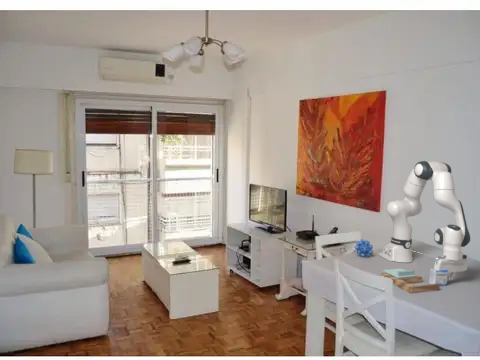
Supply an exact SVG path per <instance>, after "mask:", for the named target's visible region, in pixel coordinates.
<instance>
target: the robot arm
mask: <svg viewBox="0 0 480 360" xmlns="http://www.w3.org/2000/svg"><path fill="white" fill-rule="evenodd" d="M428 181H431V183H432V189H433V191H432V193H433V199H434V202H435V203H437V205H439V206H441V207H443V208H446V209H448V210H450V211H451V212H452V213H453V216H454V218H455V224H447V225H446V226H444V227H439V228H437V229H436V230H435V232H434V233H433V234H434V235H433V239H434V242H435V243H436V244H437V245H439V246H443V248H442V255H441V256H438V257H437V258H435V261H434V266H433V269H436V270H439V271H440V270H448V276H447V281H453V280H454V276H455V275H456V273H461V272H466V271H467V270H468V264H469V263H468V258H469V255H468V254H466V253H463V252H462V249H461V248H465V247H466V246H468V244H469V243H470V242H471V234H470V232H469V229H468V225H467V220H466V216H465V212H464V207H463V204H462V201H460V200H459V199H458V198H457V195H456V192H455V183H454V177H453V175H452V168H451V166H450V165H449V164H448V163H445V162H439V161H429V160H428V161H426V160H421V161H418V162H417V163H416V164H415V165H414V167H413V168H412V170H411V171H410V172H409V174H408V177H407V179H406V181H405V183H404V185H403V188H402V191H403V193H404V198H403V199H396V200H392V201H389V202H388V203H387V205H386V208H385V209H386V212H387V215H388V216H389V217H390V218H391V221H392V225H393V226H392V228H393V232H392V236H391V237H389V238H390V242H388V243H387V244H386V245H384V246H383V247H382V252H378V255H379V256H380V257H382V258H383V259H385V260H387V261H389V262H396V263H404V264H405V263H412V262H413V260H414V258H413V250H412V249H413V248H412V243H413V240H412V232H413V227H412V225H411V224H410V223H409V221H408V217H415V216H417V215H420V214H421V212H422V210H423V206H422V203H421V196H422V194H423V191H424V189H425V186H426V185H427V183H428Z"/></svg>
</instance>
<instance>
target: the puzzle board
mask: <svg viewBox="0 0 480 360" xmlns="http://www.w3.org/2000/svg"><path fill="white" fill-rule="evenodd" d="M380 274H381V275H380V277H381V276H384V277H388V278H391V279H392V280H393V284H394V285H393V284H392V285H393V286H395V287H398V288H399V289H401V290H403V291H406V292H408V293H410V294H418V293H425V292H427V293H428V292H434V291H436V292H437V291H440V287H441V286H440V285H439V284H422V285H413V284H417V283H419V284H420V283H423V281H422V279H423V276H421V275H418V274H417V273H414V274H415V275H417V277H407V278H396V277H394V276H392V275H390V274H388V273H386V272H381V273H380Z"/></svg>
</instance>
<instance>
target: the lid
mask: <svg viewBox="0 0 480 360" xmlns="http://www.w3.org/2000/svg"><path fill="white" fill-rule="evenodd" d="M383 273H388V274H390V275H392V276H394V277H396V278H407V277H417V275H418V274H416V273H415V270H413V269H409V270H406V269H404V268H392V269H390V268H389V269H383ZM415 274H416V275H415Z"/></svg>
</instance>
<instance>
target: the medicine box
mask: <svg viewBox="0 0 480 360" xmlns="http://www.w3.org/2000/svg"><path fill="white" fill-rule="evenodd" d="M447 276H448V270H440V271H439V270H436V269H434V268H430V269H429V282H428V283H429V284H439V285H440V286H439V287H444V286H445V287H446V286H447V284H448V280H447ZM429 284H428V285H429Z"/></svg>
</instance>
